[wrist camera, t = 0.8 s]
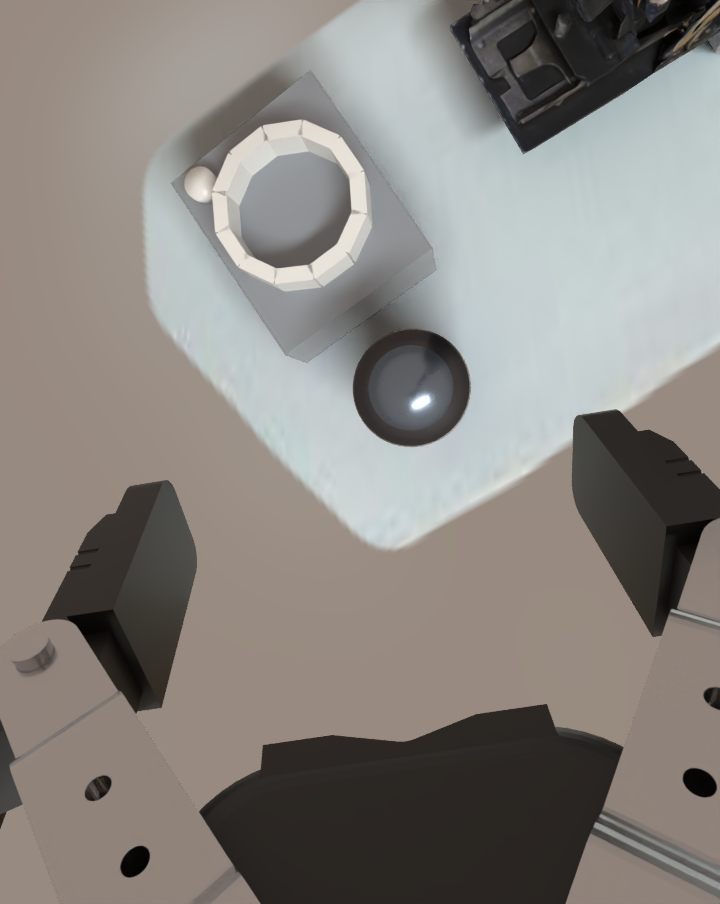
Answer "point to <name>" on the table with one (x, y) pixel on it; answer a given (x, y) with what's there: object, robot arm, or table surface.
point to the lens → (411, 387)
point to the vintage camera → (575, 54)
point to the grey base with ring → (305, 221)
